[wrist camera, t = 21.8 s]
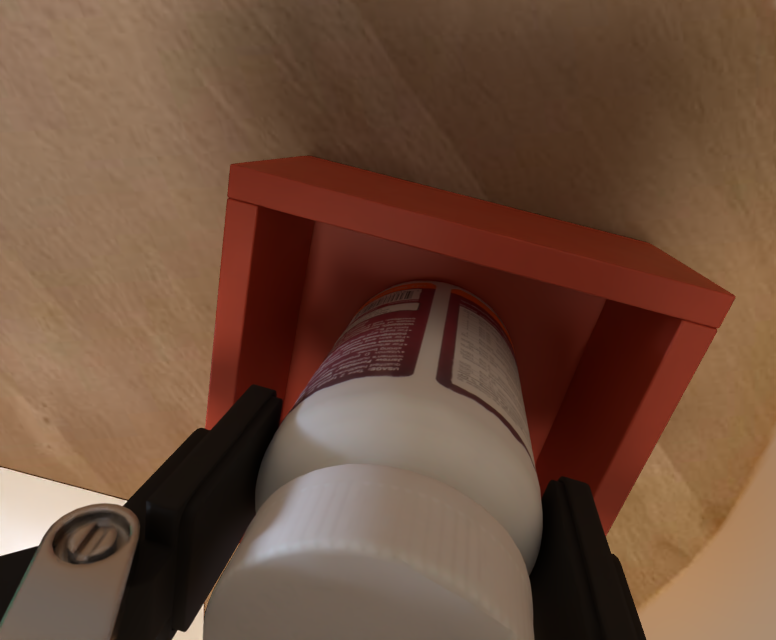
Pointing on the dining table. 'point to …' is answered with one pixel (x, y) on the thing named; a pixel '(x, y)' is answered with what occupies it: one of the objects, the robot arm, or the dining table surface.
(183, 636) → the napkin holder
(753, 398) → the dining table surface
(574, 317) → the red bin
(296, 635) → the pill bottle
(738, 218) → the dining table surface
